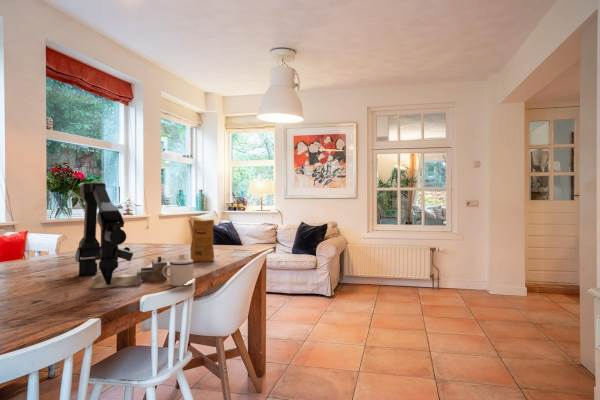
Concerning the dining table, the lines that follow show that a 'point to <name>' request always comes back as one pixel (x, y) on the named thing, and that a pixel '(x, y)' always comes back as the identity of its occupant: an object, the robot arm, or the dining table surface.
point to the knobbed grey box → (154, 271)
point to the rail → (117, 280)
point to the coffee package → (202, 241)
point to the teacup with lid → (180, 270)
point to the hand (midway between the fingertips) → (108, 283)
